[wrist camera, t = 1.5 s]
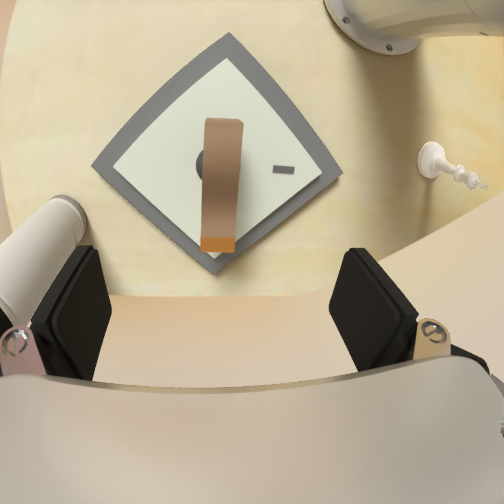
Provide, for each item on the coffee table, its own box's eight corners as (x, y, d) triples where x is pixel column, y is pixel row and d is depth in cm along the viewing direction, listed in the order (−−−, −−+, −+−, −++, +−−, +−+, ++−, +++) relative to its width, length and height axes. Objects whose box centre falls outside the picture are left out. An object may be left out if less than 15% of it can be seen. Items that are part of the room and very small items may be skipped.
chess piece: (436, 180, 30) (488, 212, 22) (413, 172, 29) (467, 205, 21) (446, 147, 28) (501, 172, 19) (422, 136, 27) (481, 159, 18)
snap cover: (228, 35, 19) (230, 28, 17) (337, 169, 28) (348, 176, 26) (96, 162, 24) (85, 169, 22) (213, 267, 32) (213, 281, 30)
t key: (206, 115, 21) (204, 121, 15) (236, 117, 21) (244, 123, 16) (202, 214, 26) (200, 252, 20) (228, 215, 26) (234, 252, 21)
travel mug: (98, 234, 28) (20, 381, 11) (58, 248, 28) (-19, 378, 11) (77, 185, 25) (-41, 310, 8) (37, 204, 25) (-67, 320, 8)
